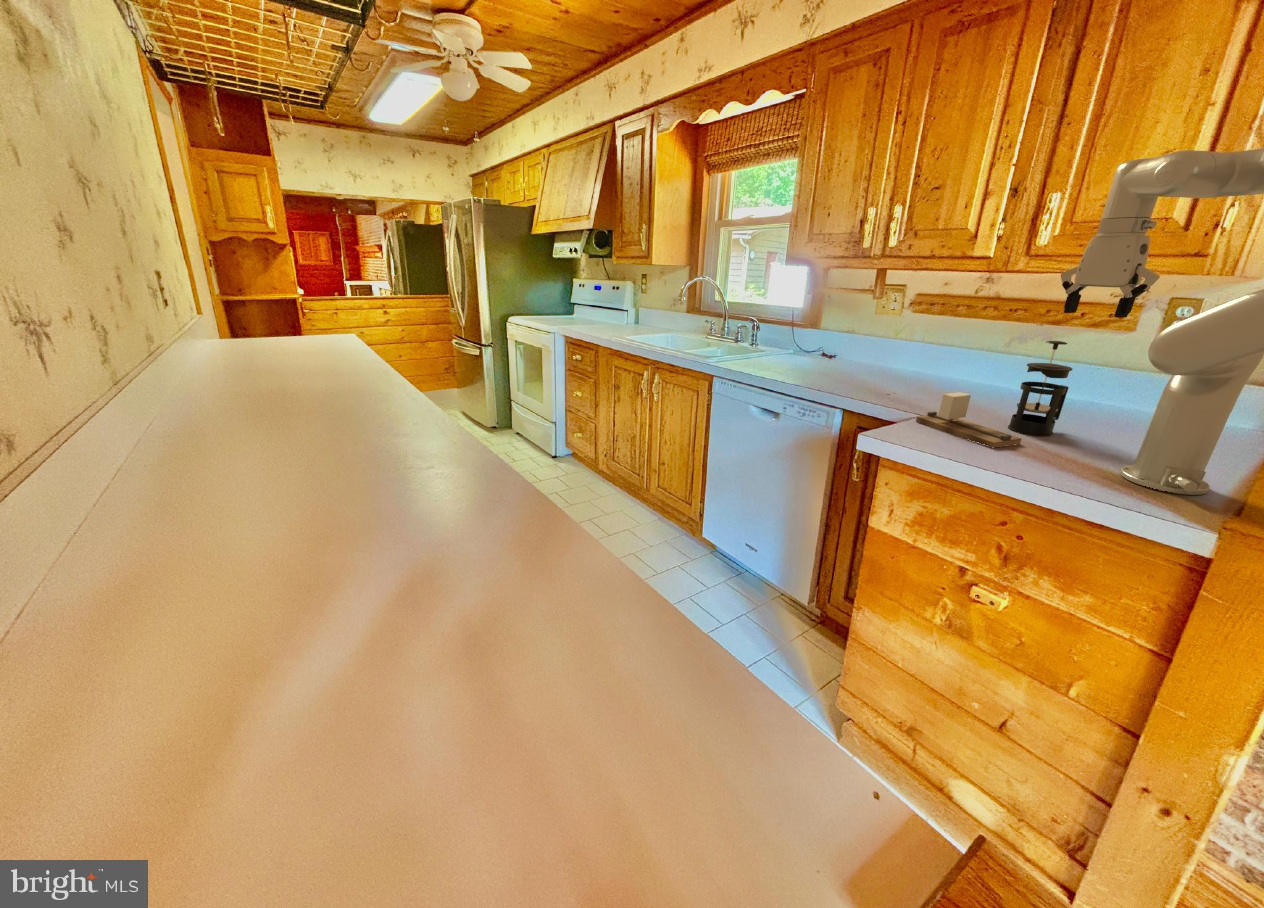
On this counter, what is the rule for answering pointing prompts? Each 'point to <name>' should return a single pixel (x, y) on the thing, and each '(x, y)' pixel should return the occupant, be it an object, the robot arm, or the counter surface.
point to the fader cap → (954, 405)
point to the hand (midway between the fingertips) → (1094, 315)
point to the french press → (1036, 423)
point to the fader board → (968, 430)
